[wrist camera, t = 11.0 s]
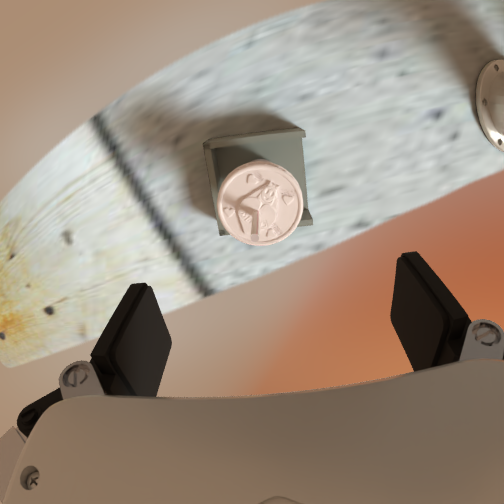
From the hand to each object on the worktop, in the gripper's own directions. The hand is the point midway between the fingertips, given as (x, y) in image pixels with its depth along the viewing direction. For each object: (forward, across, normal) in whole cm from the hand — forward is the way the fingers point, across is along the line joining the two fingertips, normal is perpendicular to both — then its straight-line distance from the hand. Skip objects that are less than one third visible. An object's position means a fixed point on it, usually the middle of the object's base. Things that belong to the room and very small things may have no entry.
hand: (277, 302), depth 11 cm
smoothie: (+22, +1, 0) cm, 22 cm away
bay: (+22, +1, +1) cm, 22 cm away
